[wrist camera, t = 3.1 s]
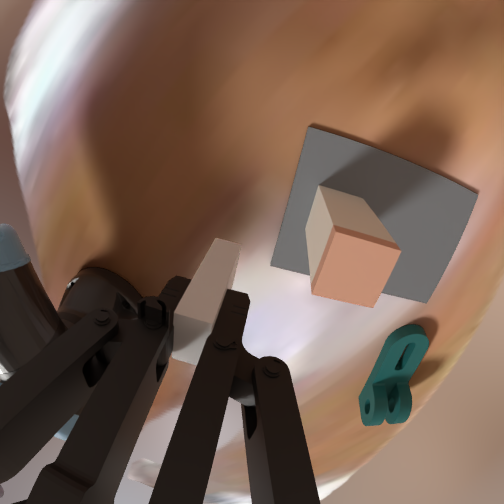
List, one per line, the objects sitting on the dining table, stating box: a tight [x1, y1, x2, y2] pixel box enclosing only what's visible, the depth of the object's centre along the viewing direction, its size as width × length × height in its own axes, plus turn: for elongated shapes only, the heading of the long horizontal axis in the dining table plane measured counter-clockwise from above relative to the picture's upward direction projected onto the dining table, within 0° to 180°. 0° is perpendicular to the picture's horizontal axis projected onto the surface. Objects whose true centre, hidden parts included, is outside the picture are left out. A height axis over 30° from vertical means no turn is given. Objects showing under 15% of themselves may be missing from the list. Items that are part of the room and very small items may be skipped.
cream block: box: [305, 185, 401, 308], centre depth 24 cm, size 5×5×12 cm
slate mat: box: [270, 127, 478, 303], centre depth 30 cm, size 22×16×1 cm
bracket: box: [359, 324, 429, 426], centre depth 37 cm, size 18×7×8 cm, turn 179°
